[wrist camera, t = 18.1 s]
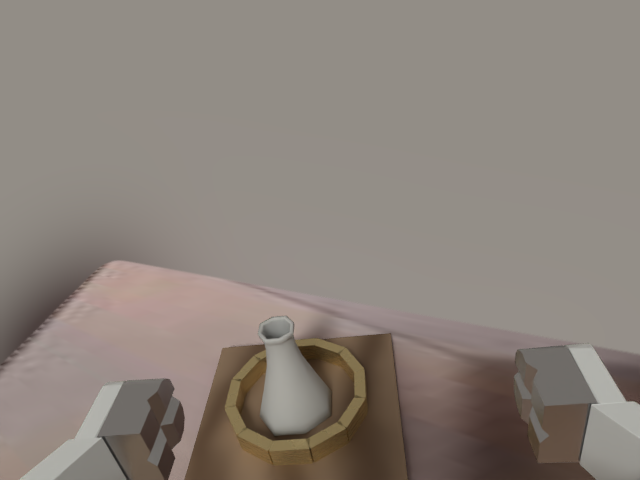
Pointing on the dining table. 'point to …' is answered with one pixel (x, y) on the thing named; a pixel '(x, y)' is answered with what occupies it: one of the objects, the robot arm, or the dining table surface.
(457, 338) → the dining table surface
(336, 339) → the walnut board
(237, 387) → the wooden ring
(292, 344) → the flask
